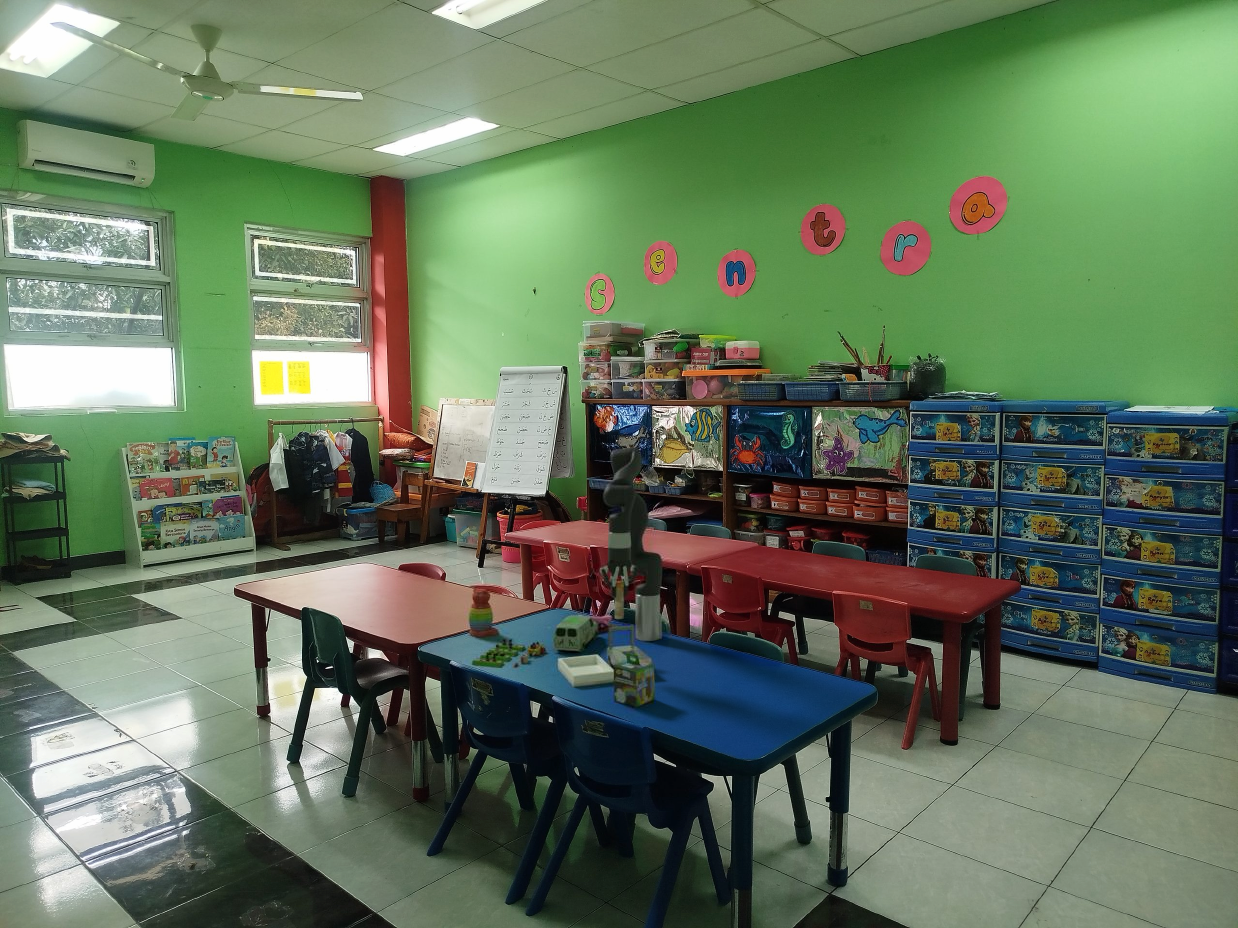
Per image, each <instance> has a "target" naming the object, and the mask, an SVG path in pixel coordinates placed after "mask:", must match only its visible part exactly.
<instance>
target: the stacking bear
mask: <svg viewBox="0 0 1238 928" xmlns="http://www.w3.org/2000/svg"><path fill="white" fill-rule="evenodd" d="M472 592H473V593H472V596H471V597H472V601H473V603H472V604H471V606H470V608H469V612H468V624H469V628H470V629H469V633H468V634H469V635H470V636H472V637H474V638H475V637H476V638H479V637H481V638H482V637H490V636H494V635H497V634H499V629H498V628H497V627H493V626H492V625H493V622H494V613H493V610H492V606H491V604H490V603H489V601H490V599H491V593H490V592H489V591H488V590H487V589H486V588H476V587H475V588H474V589H473V591H472Z"/></svg>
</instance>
